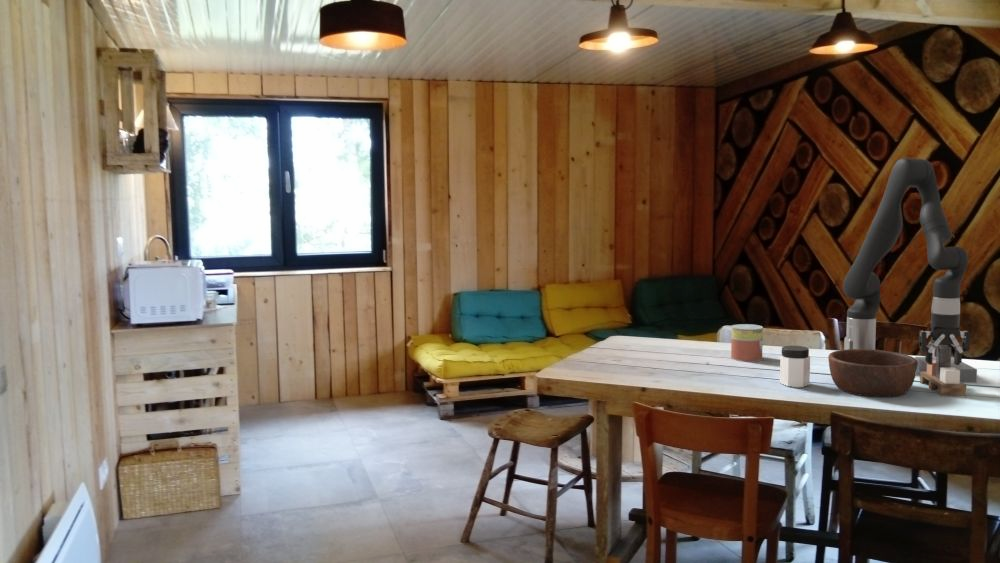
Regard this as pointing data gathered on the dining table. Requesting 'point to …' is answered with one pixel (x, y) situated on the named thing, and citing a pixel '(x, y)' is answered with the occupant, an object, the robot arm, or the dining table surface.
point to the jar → (795, 366)
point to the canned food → (746, 342)
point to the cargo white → (949, 375)
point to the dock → (965, 370)
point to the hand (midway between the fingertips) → (943, 364)
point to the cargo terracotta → (932, 368)
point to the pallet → (942, 385)
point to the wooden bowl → (872, 372)
